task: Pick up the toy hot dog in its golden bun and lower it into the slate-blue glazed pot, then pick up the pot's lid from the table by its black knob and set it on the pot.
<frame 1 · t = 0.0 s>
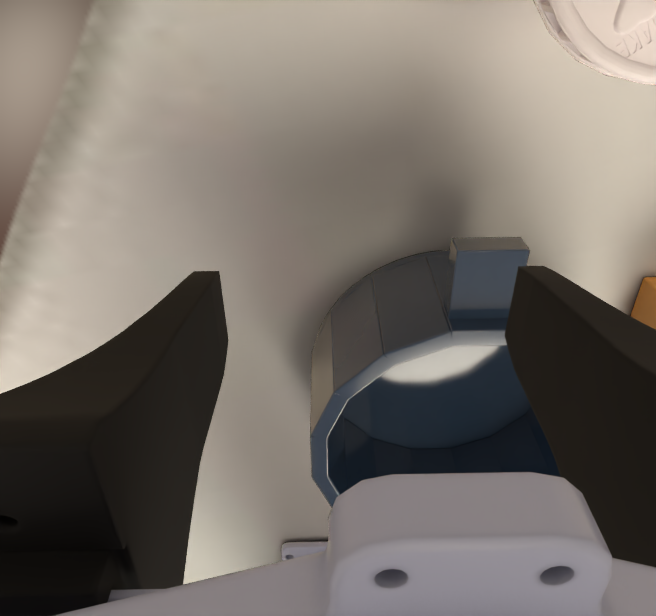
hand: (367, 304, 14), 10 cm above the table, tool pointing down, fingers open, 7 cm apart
pot: (438, 361, 28), on the table
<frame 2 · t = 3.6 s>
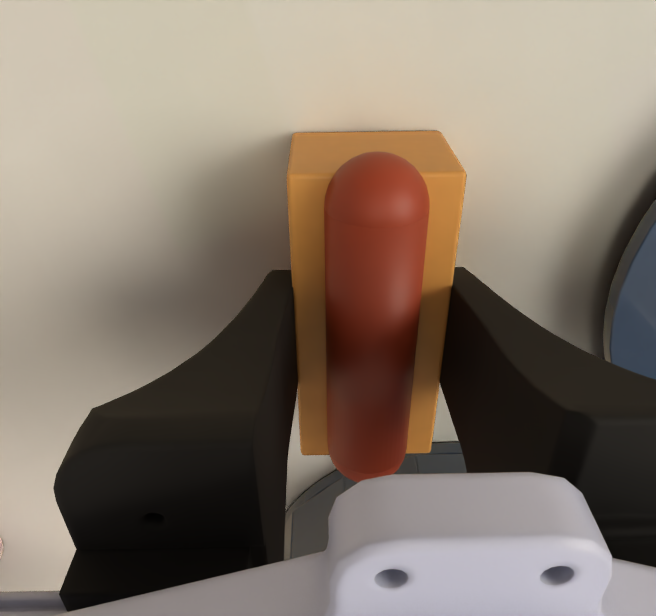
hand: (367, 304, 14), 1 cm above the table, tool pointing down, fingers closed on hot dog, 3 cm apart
pot: (433, 554, 22), on the table
hot dog: (362, 275, 15), on the table, touching gripper
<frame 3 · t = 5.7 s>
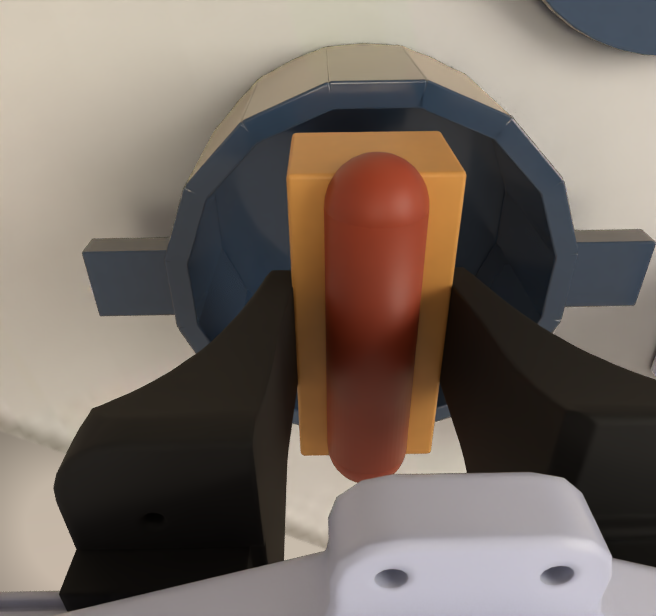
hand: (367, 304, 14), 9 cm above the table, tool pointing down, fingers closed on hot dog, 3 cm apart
pot: (359, 213, 22), on the table
hot dog: (362, 275, 15), point 8 cm above the table, touching gripper
when the fingers open (2 cm above the table, at t = 8.1 s): hot dog stays where it is, resting on pot.
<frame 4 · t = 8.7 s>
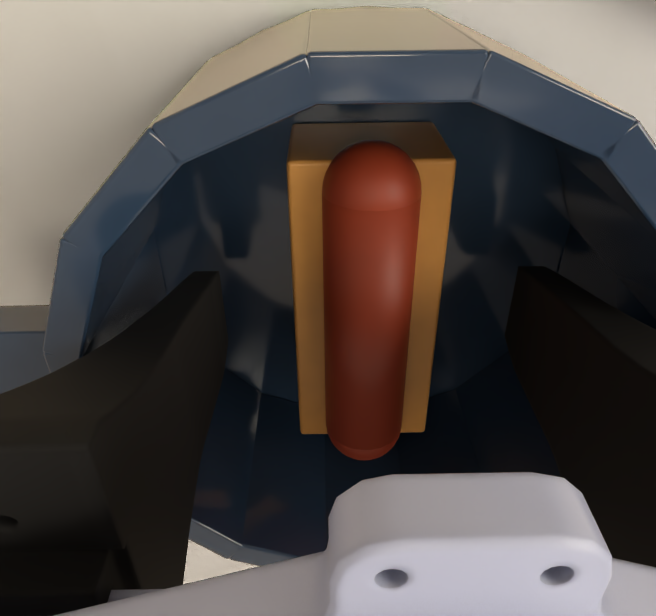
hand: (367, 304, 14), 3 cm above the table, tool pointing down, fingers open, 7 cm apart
pot: (360, 253, 16), on the table
hot dog: (359, 261, 16), resting on pot
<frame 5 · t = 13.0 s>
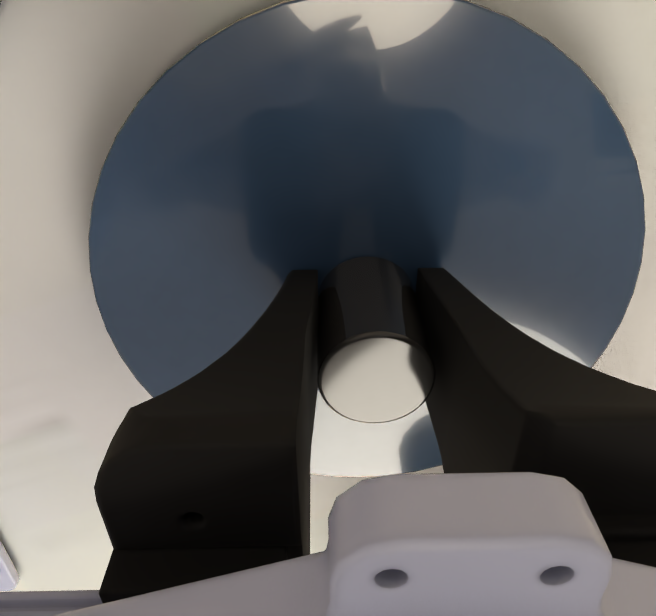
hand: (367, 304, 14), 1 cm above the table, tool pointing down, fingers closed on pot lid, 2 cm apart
pot lid: (364, 287, 14), point 1 cm above the table, touching gripper
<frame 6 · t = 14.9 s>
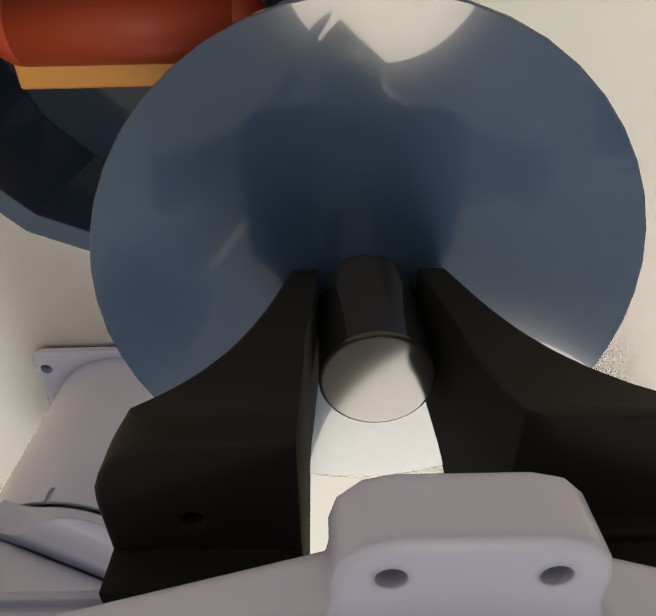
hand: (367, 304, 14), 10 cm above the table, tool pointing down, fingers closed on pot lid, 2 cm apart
pot: (157, 16, 19), on the table
pot lid: (365, 286, 14), point 10 cm above the table, touching gripper
hot dog: (153, 16, 19), resting on pot
when the fingers open (7 cm above the table, at t = 16.9 s): pot lid stays where it is, resting on pot.
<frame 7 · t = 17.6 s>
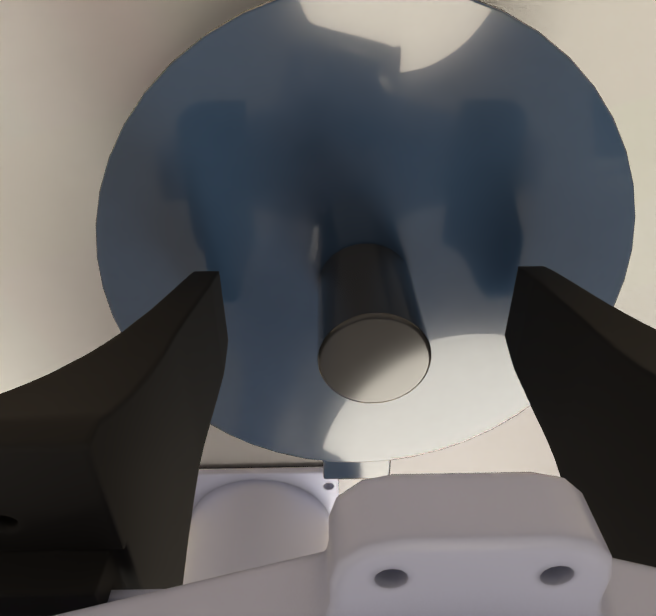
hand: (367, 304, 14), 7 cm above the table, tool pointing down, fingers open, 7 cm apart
pot: (352, 190, 20), on the table
pot lid: (363, 274, 15), point 6 cm above the table, touching pot
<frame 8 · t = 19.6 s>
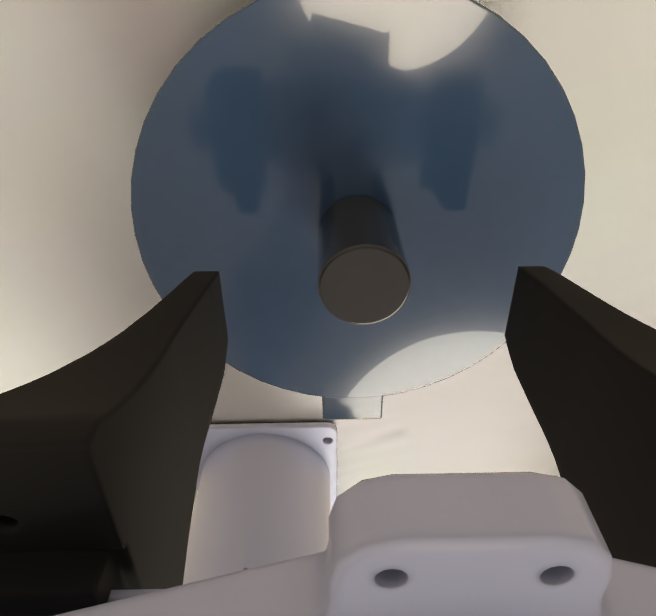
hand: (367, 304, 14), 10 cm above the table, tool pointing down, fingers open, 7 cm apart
pot: (348, 162, 22), on the table
pot lid: (356, 225, 17), point 6 cm above the table, touching pot
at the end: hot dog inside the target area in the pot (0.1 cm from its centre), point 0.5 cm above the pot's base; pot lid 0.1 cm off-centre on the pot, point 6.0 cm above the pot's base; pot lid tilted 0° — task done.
